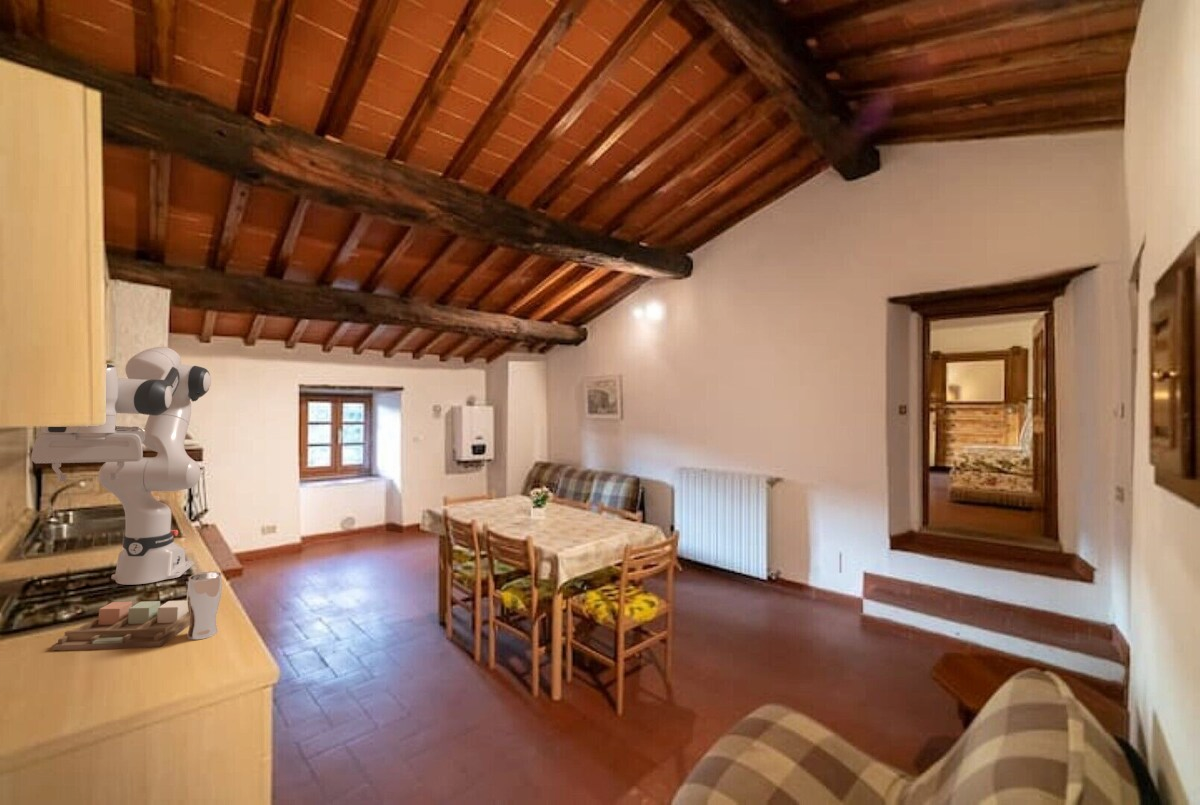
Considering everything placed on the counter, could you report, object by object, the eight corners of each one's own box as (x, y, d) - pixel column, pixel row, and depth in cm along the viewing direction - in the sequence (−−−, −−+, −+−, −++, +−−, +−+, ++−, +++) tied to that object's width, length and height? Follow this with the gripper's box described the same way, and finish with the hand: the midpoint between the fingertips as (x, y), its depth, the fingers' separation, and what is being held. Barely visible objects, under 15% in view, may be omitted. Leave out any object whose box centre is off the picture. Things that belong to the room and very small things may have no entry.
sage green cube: (139, 616, 136) (140, 601, 136) (159, 616, 137) (160, 601, 137) (128, 623, 132) (128, 608, 132) (148, 623, 133) (149, 607, 133)
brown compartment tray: (108, 618, 137) (109, 606, 137) (202, 615, 141) (202, 604, 141) (51, 650, 119) (52, 637, 119) (160, 646, 124) (160, 633, 124)
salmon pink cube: (111, 617, 135) (112, 602, 135) (131, 616, 136) (132, 601, 136) (98, 624, 130) (99, 609, 130) (118, 624, 131) (119, 608, 131)
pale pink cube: (168, 615, 137) (168, 600, 137) (187, 615, 138) (188, 600, 138) (157, 623, 133) (157, 607, 133) (176, 622, 134) (177, 607, 134)
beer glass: (183, 643, 126) (187, 582, 126) (185, 632, 132) (188, 573, 132) (219, 636, 130) (222, 577, 130) (219, 626, 136) (222, 569, 136)
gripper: (146, 426, 141) (143, 476, 141) (36, 424, 128) (32, 480, 127) (146, 427, 136) (142, 479, 136) (32, 425, 123) (28, 483, 122)
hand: (88, 480), depth 131 cm, fingers open, 8 cm apart
